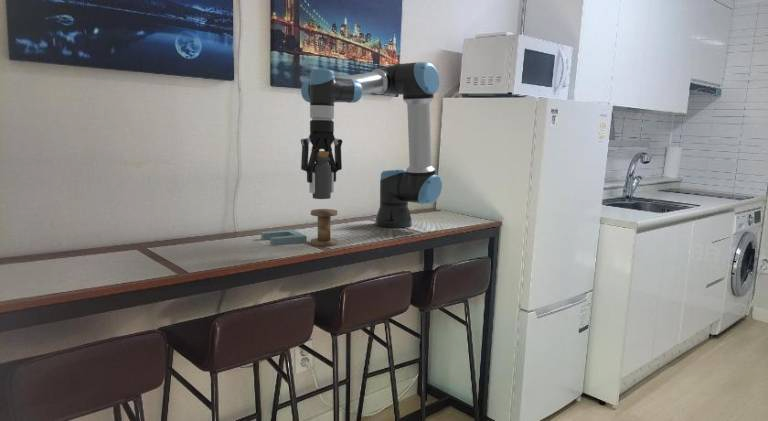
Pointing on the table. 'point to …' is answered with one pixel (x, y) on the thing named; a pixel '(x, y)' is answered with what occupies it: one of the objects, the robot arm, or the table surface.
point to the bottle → (322, 176)
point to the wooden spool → (324, 227)
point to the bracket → (284, 237)
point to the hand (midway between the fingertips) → (321, 192)
